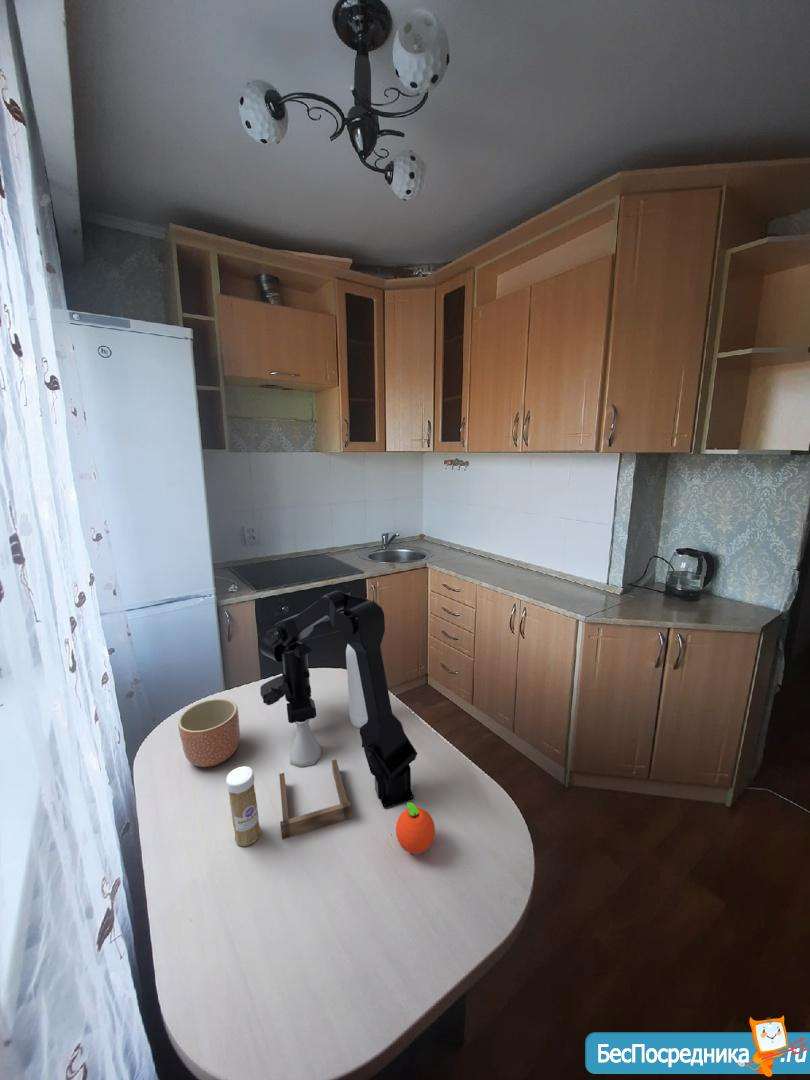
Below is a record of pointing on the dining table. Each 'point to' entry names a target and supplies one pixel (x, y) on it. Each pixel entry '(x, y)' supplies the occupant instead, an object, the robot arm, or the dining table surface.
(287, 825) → the bay
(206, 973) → the dining table surface
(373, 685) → the robot arm
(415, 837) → the clementine
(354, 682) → the bottle
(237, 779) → the sprinkles bottle
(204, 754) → the planter
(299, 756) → the flask
